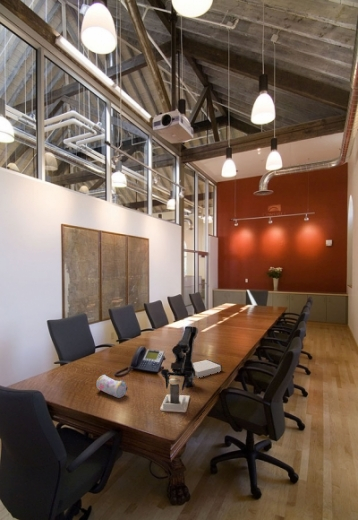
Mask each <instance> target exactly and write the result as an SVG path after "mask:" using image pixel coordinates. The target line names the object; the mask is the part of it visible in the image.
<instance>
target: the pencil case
mask: <svg viewBox="0 0 358 520" xmlns="http://www.w3.org/2000/svg"><path fill="white" fill-rule="evenodd" d="M95 385H96V388H97V390H98V391H102V392H104V393H106V394H108V395H110V396H113V397H115V398H118V399H120V398H123V397H124V396H125V395H126V393H127V391H128V386H127V384H126V381H124V380H122V379H121V380H115V379H113V378H111V377H110V376H107V375H106V374H103V375H100V376H99V377H98V378H97V379H96V384H95Z"/></svg>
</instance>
